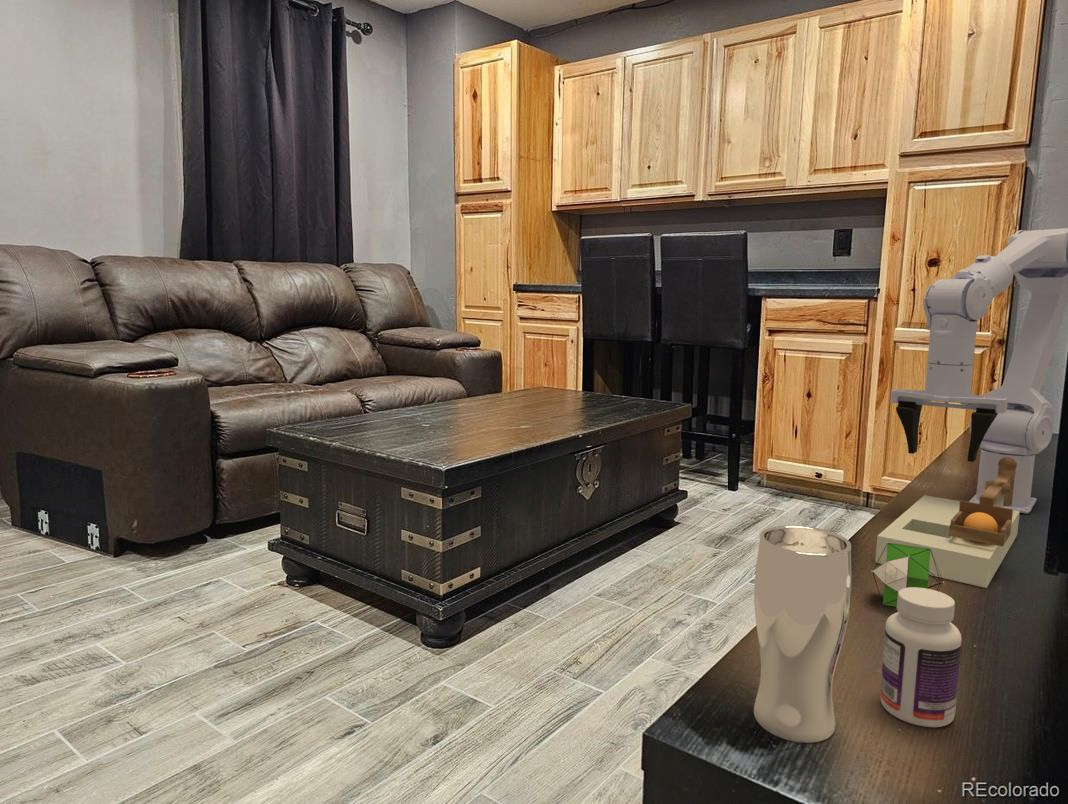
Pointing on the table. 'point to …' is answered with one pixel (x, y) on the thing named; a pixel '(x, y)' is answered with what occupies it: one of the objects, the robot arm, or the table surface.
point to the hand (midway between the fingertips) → (941, 456)
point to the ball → (981, 522)
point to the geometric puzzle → (904, 571)
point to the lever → (989, 508)
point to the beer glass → (800, 628)
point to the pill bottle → (921, 659)
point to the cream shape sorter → (946, 541)
